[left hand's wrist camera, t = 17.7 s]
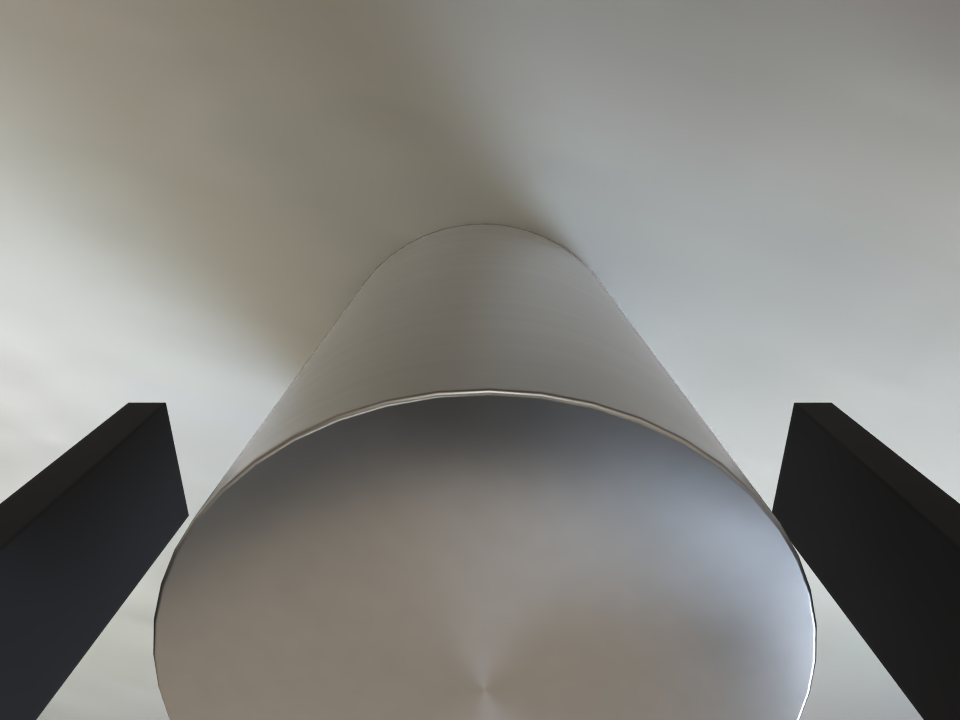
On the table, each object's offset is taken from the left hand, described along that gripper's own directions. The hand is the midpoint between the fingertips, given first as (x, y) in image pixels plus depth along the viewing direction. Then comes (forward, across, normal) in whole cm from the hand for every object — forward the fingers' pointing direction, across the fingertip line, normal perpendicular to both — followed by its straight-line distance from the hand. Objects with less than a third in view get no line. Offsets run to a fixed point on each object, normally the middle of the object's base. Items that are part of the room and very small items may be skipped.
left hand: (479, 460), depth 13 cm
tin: (+5, 0, 0) cm, 5 cm away
